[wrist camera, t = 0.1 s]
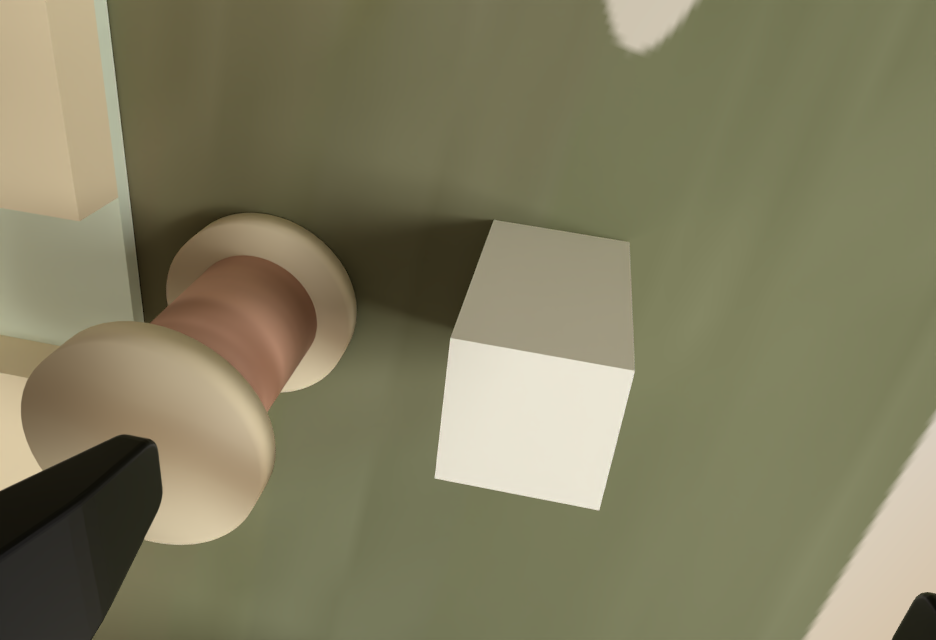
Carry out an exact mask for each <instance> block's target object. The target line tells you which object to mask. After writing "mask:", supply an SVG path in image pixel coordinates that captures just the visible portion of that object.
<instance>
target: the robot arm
mask: <svg viewBox="0 0 936 640" xmlns="http://www.w3.org/2000/svg"><path fill="white" fill-rule="evenodd" d="M162 494H163V487H162V478H161V470H160V461H159V453H158V447H157V445H156V443H155V442H154V441H153V440H151V439H148V438H143V437H138V436H133V435H128V434H121V435H118V436H115V437H113V438H111V439H109V440H106V441H104V442H102V443H100V444H98V445H96V446H94V447H92V448H89V449H87V450H85V451H83V452H81V453H79V454H77V455H75V456H73V457H70V458H68V459H66V460H64V461H62V462H60V463H58V464H56V465H54V466H51V467H49V468H47V469H45V470H43V471H41V472H39V473H37V474H34V475H32V476H30V477H28V478H26V479H24V480H22V481H20V482H18V483H15V484H13V485H11V486H9V487H7V488H5V489H3V490H1V491H0V640H92V638H93V636H94V635H95V633H96V631H97V630H98V628H99V626H100V625H101V623H102V621H103V620H104V618H105V616H106V614H107V612H108V610H109V608H110V606H111V605H112V603H113V601H114V599H115V597H116V595H117V593H118V591H119V589H120V587H121V585H122V583H123V581H124V579H125V577H126V574H127V572H128V570H129V568H130V566H131V564H132V562H133V560H134V558H135V556H136V554H137V552H138V550H139V548H140V546H141V544H142V542H143V540H144V538H145V536H146V534H147V532H148V530H149V528H150V526H151V524H152V522H153V520H154V518H155V516H156V514H157V512H158V510H159V507H160V504H161V501H162ZM892 640H936V594H935V593H929V592H926V593H921V594H920V595H918V596H917V597H916V598H915V600H914V601H913V603H912V604H911V606H910V608H909V610H908V612H907V613H906V615H905V617H904V619H903V620H902V622H901V624H900V626H899V627H898V629H897V631H896V633H895V634H894V636H893V638H892Z"/></svg>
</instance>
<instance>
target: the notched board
mask: <svg viewBox="0 0 936 640" xmlns="http://www.w3.org/2000/svg"><path fill="white" fill-rule="evenodd" d="M115 321H136V322H144V316H143V307H142V299H141V290H140V282H139V273H138V265H137V256H136V248H135V239H134V231H133V222H132V214H131V205H130V197H129V188H128V179H127V171H126V162H125V154H124V145H123V137H122V128H121V120H120V111H119V103H118V94H117V86H116V77H115V69H114V60H113V52H112V43H111V34H110V26H109V17H108V9H107V0H0V491H1V490H3V489H5V488H7V487H9V486H11V485H13V484H15V483H18V482H20V481H22V480H24V479H26V478H28V477H30V476H32V475H34V474H37V473H39V472H41V471H43V470H42V469H41V468H40V466H39V465H38V463H37V461H36V459H35V458H34V456H33V454H32V452H31V450H30V448H29V445H28V443H27V441H26V437H25V434H24V431H23V426H22V420H21V400H22V394H23V390H24V387H25V385H26V382H27V380H28V378H29V377H30V375H31V373H32V372H33V370H34V369H35V368H36V367H37V366H38V365H39V364H40V363H41V362H42V361H43V360H44V359H45V358H47V357H48V356H49V355H50V354H52V353H53V352H54V351H55V350H56V349H58V348H59V347H60V346H61V345H62V344H64V343H65V342H66V341H67V340H69V339H70V338H71V337H73V336H74V335H76V334H77V333H78V332H80V331H82V330H85V329H87V328H89V327H91V326H95V325H98V324H102V323H108V322H115Z"/></svg>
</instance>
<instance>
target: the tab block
mask: <svg viewBox="0 0 936 640" xmlns="http://www.w3.org/2000/svg"><path fill="white" fill-rule="evenodd" d="M634 372H635V362H634V338H633V314H632V290H631V266H630V242H626V241H620V240H614V239H608V238H602V237H596V236H590V235H584V234H577V233H571V232H565V231H559V230H553V229H547V228H541V227H535V226H528V225H522V224H516V223H510V222H504V221H498V220H493V223H492V226H491V229H490V231H489V234H488V237H487V240H486V242H485V245H484V248H483V250H482V253H481V256H480V259H479V261H478V264H477V267H476V270H475V272H474V275H473V278H472V280H471V283H470V286H469V289H468V291H467V294H466V297H465V300H464V302H463V305H462V308H461V310H460V313H459V316H458V319H457V321H456V324H455V327H454V330H453V332H452V335H451V338H450V346H449V355H448V364H447V373H446V382H445V391H444V400H443V409H442V418H441V427H440V436H439V445H438V454H437V463H436V472H435V478H436V479H441V480H446V481H451V482H457V483H462V484H467V485H472V486H477V487H482V488H487V489H492V490H498V491H503V492H508V493H513V494H518V495H523V496H528V497H533V498H539V499H544V500H549V501H554V502H559V503H564V504H569V505H574V506H580V507H585V508H590V509H595V510H599V509H600V505H601V501H602V497H603V493H604V489H605V485H606V482H607V478H608V474H609V470H610V466H611V462H612V458H613V454H614V450H615V446H616V443H617V439H618V435H619V431H620V427H621V423H622V419H623V415H624V411H625V407H626V404H627V400H628V396H629V392H630V388H631V384H632V380H633V376H634Z"/></svg>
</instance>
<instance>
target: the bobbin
mask: <svg viewBox="0 0 936 640" xmlns="http://www.w3.org/2000/svg"><path fill="white" fill-rule="evenodd" d="M166 297H167V303H168V307H166V308H165V309H164V310H163V311H162V312H161V313H160V314H159V315H158V316H157V317H156V318H155V319H154V320H153V321H151V322H150V323H144V322H136V321H115V322H108V323H102V324H98V325H95V326H91V327H89V328H87V329H85V330H82V331H80V332H78V333H77V334H76V335H74V336H73V337H71V338H70V339H69V340H67V341H66V342H65V343H64V344H62V345H61V346H60V347H59V348H58V349H56V350H55V351H54V352H53V353H52V354H50V355H49V356H48V357H47V358H45V359H44V360H43V361H42V362H41V363H40V364H39V365H38V366H37V367H36V368H35V369H34V370H33V372H32V373H31V375H30V377H29V378H28V380H27V382H26V385H25V387H24V390H23V394H22V400H21V420H22V426H23V431H24V434H25V437H26V441H27V443H28V445H29V448H30V450H31V452H32V454H33V456H34V458H35V459H36V461H37V463H38V465H39V466H40V468H41V469H42V470H45V469H47V468H49V467H51V466H54V465H56V464H58V463H60V462H62V461H64V460H66V459H68V458H70V457H73V456H75V455H77V454H79V453H81V452H83V451H85V450H87V449H89V448H92V447H94V446H96V445H98V444H100V443H102V442H104V441H106V440H109V439H111V438H113V437H115V436H118V435H121V434H128V435H133V436H138V437H143V438H148V439H151V440H153V441H154V442H155V443H156V445H157V447H158V453H159V461H160V470H161V478H162V487H163V494H162V501H161V504H160V507H159V510H158V512H157V514H156V516H155V518H154V520H153V522H152V524H151V526H150V528H149V530H148V532H147V534H146V536H145V538H144V540H147V541H151V542H157V543H163V544H175V545H186V544H197V543H203V542H207V541H211V540H214V539H217V538H219V537H221V536H224V535H226V534H228V533H229V532H231V531H232V530H234V529H235V528H236V527H238V526H239V525H240V524H241V523H242V522H243V521H244V520H245V519H246V518H247V516H248V515H249V513H250V512H251V510H252V509H253V507H254V505H255V503H256V502H257V500H258V498H259V497H260V495H261V493H262V492H263V490H264V488H265V486H266V485H267V483H268V481H269V479H270V476H271V474H272V472H273V467H274V463H275V453H276V446H275V436H274V432H273V428H272V424H271V421H270V419H269V416H268V414H267V412H268V410H269V409H270V407H271V406H272V404H273V403H274V401H275V400H276V398H277V397H278V395H279V394H280V392H290V391H295V390H300V389H303V388H306V387H308V386H311V385H313V384H315V383H316V382H318V381H320V380H321V379H323V378H324V377H325V376H326V375H328V374H329V373H330V372H331V371H332V369H333V368H334V367H335V366H336V364H337V363H338V361H339V360H340V358H341V356H342V355H343V353H344V351H345V350H346V348H347V346H348V345H349V343H350V340H351V338H352V336H353V333H354V330H355V326H356V319H357V303H356V297H355V292H354V289H353V286H352V283H351V280H350V278H349V276H348V274H347V272H346V270H345V268H344V267H343V265H342V264H341V262H340V260H339V259H338V258H337V257H336V255H335V254H334V253H333V252H332V250H331V249H330V248H329V247H328V246H327V245H326V244H325V243H324V242H323V241H321V240H320V239H319V238H318V237H316V236H315V235H314V234H313V233H311V232H309V231H308V230H306V229H305V228H303V227H302V226H300V225H298V224H295V223H293V222H291V221H289V220H286V219H283V218H281V217H278V216H273V215H269V214H262V213H239V214H233V215H229V216H226V217H223V218H220V219H218V220H216V221H214V222H212V223H210V224H209V225H208V226H206V227H205V228H203V229H202V230H201V231H200V232H198V233H197V234H196V235H195V236H194V237H192V238H191V239H190V240H189V241H188V242H187V243H186V244H185V245H184V246H183V247H182V248H181V249H180V250H179V251H178V253H177V254H176V256H175V257H174V259H173V262H172V264H171V266H170V269H169V273H168V276H167V284H166Z"/></svg>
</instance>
